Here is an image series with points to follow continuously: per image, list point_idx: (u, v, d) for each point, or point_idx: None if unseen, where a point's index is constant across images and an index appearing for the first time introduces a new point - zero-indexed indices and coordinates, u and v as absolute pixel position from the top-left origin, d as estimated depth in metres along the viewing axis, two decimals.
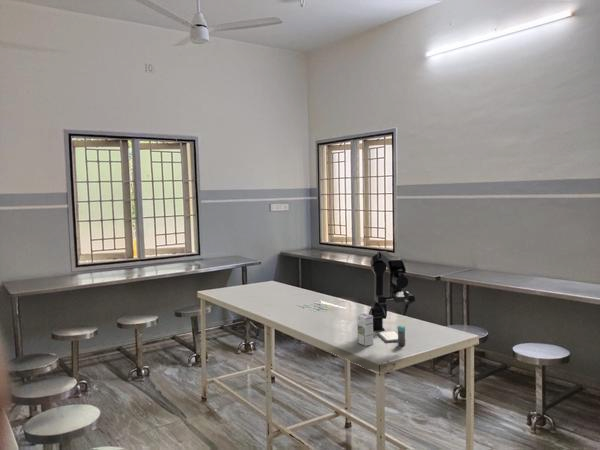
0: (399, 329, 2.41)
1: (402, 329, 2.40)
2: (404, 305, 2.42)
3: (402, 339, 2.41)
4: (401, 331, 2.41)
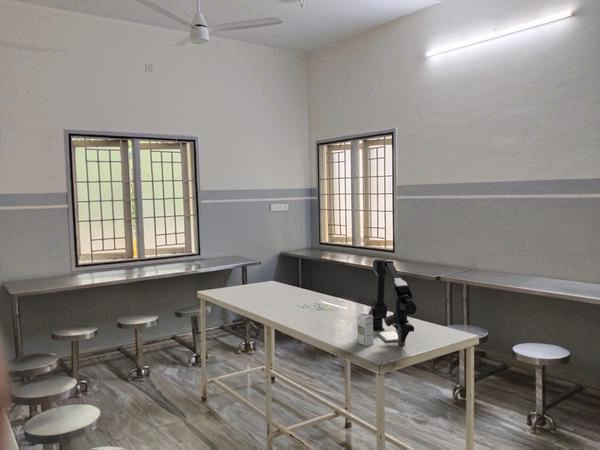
0: None
1: None
2: None
3: None
4: None
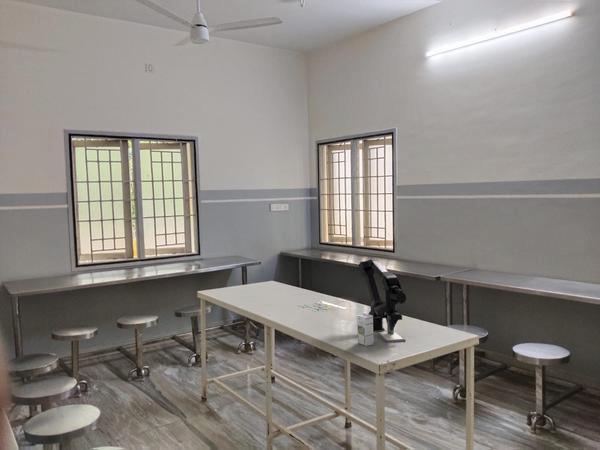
0: None
1: None
2: None
3: None
4: None
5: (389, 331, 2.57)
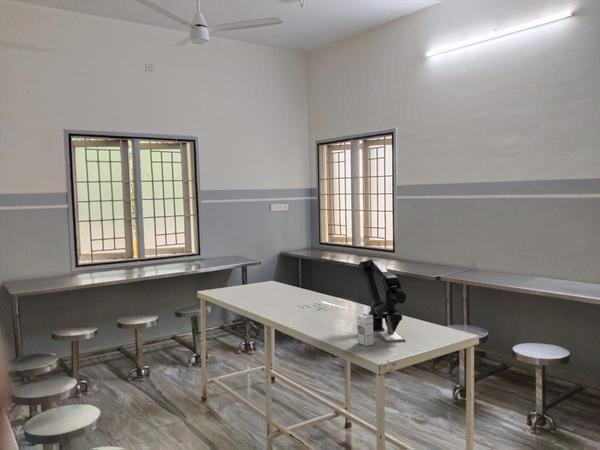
0: (388, 318, 2.56)
1: None
2: None
3: (391, 328, 2.56)
4: None
5: (389, 331, 2.57)
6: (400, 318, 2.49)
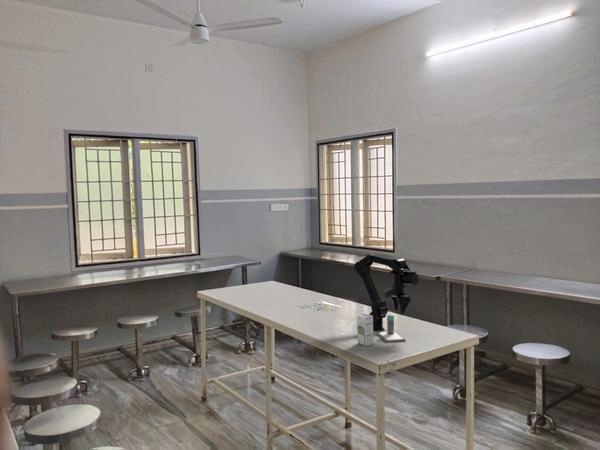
0: (388, 318, 2.57)
1: (391, 318, 2.56)
2: None
3: (391, 328, 2.56)
4: (390, 320, 2.56)
5: (389, 331, 2.57)
6: (409, 300, 2.50)
